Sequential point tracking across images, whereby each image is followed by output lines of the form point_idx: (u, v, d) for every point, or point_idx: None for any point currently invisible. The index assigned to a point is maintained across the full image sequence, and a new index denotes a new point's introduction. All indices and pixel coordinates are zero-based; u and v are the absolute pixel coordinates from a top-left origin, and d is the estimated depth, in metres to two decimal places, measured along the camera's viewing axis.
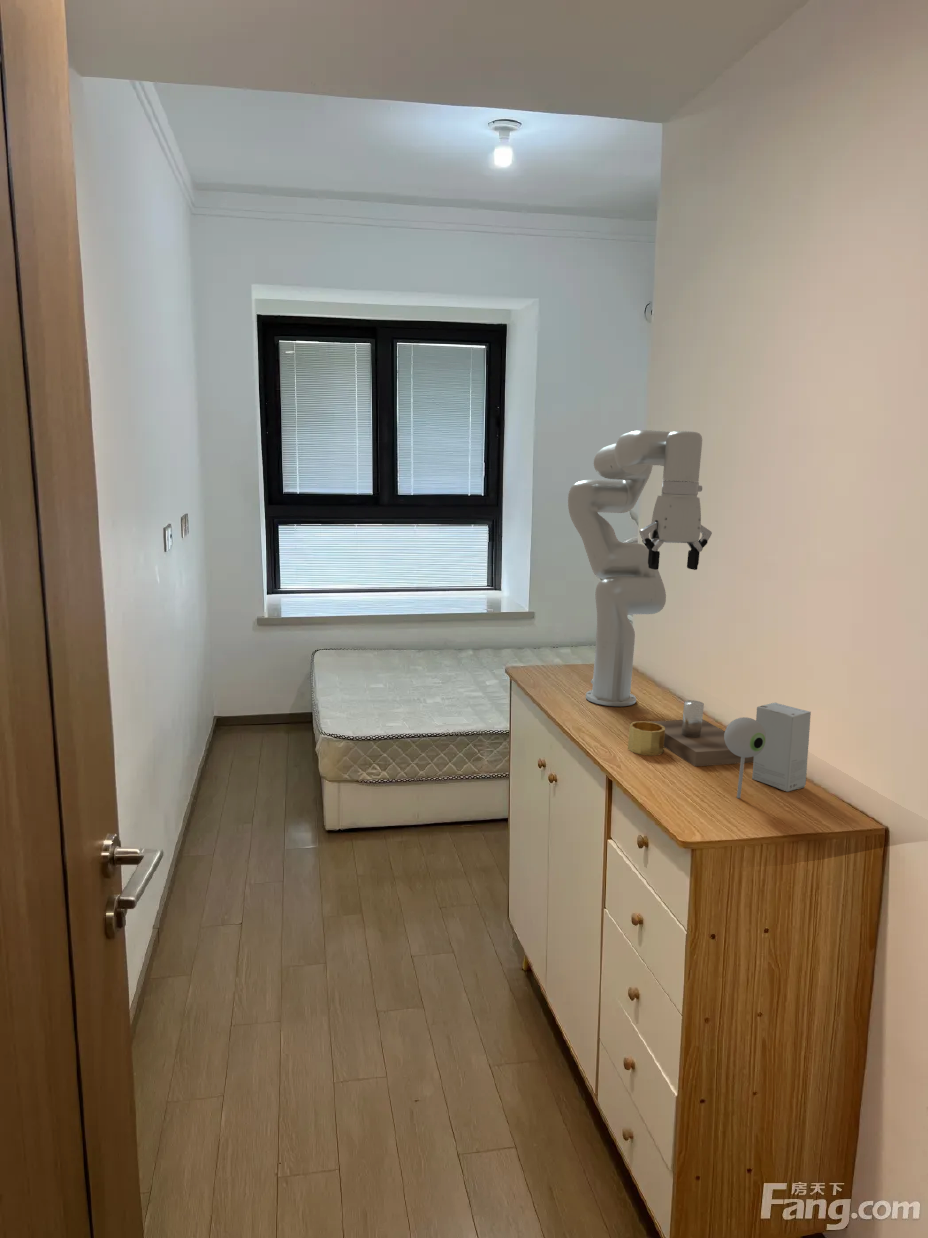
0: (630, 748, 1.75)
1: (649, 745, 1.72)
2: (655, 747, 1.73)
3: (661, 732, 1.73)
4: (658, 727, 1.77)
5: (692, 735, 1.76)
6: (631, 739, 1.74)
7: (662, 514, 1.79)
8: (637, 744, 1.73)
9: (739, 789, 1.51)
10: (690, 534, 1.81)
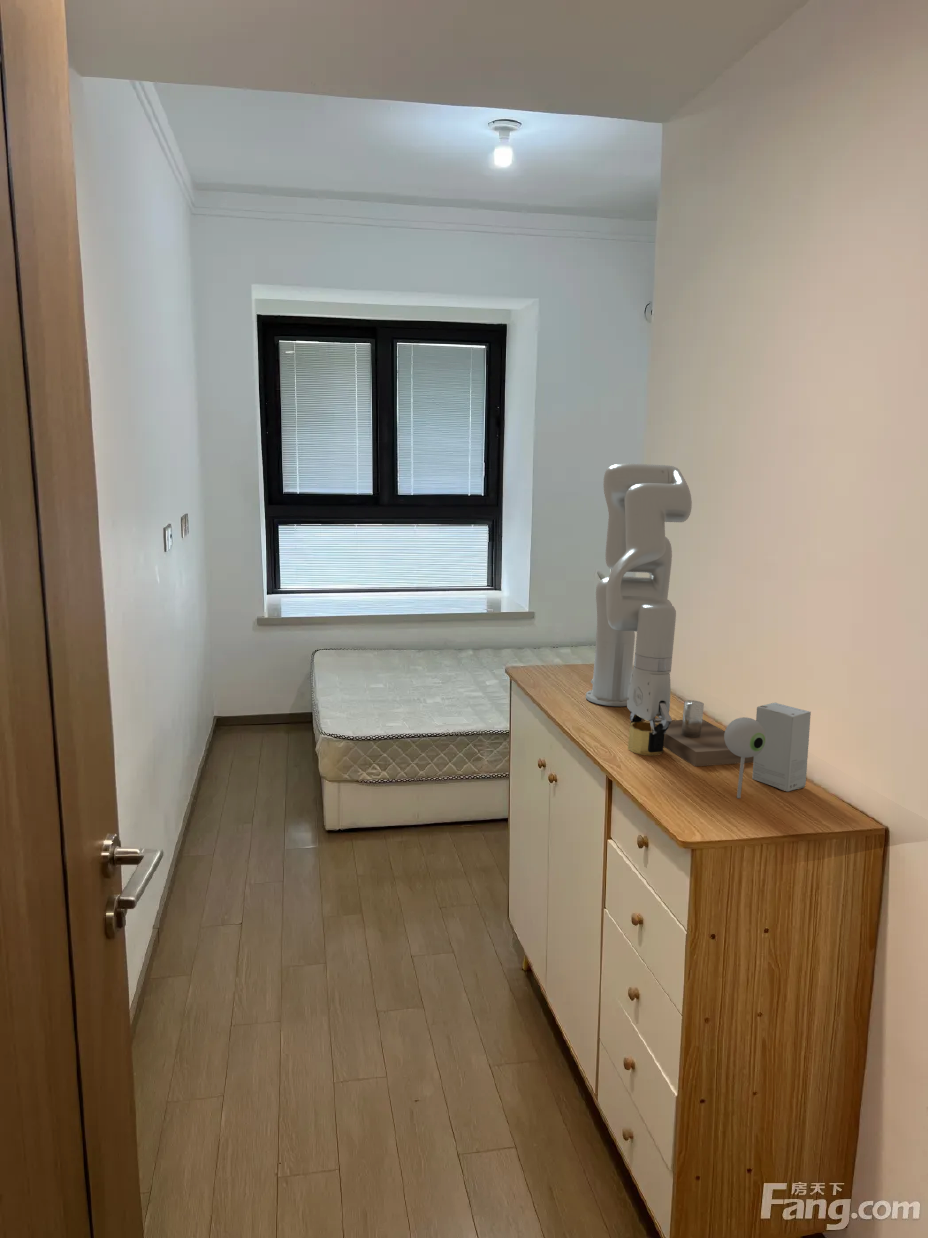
0: (630, 748, 1.75)
1: None
2: None
3: None
4: None
5: (692, 735, 1.76)
6: (631, 739, 1.74)
7: (669, 693, 1.70)
8: (637, 744, 1.73)
9: (739, 789, 1.51)
10: None
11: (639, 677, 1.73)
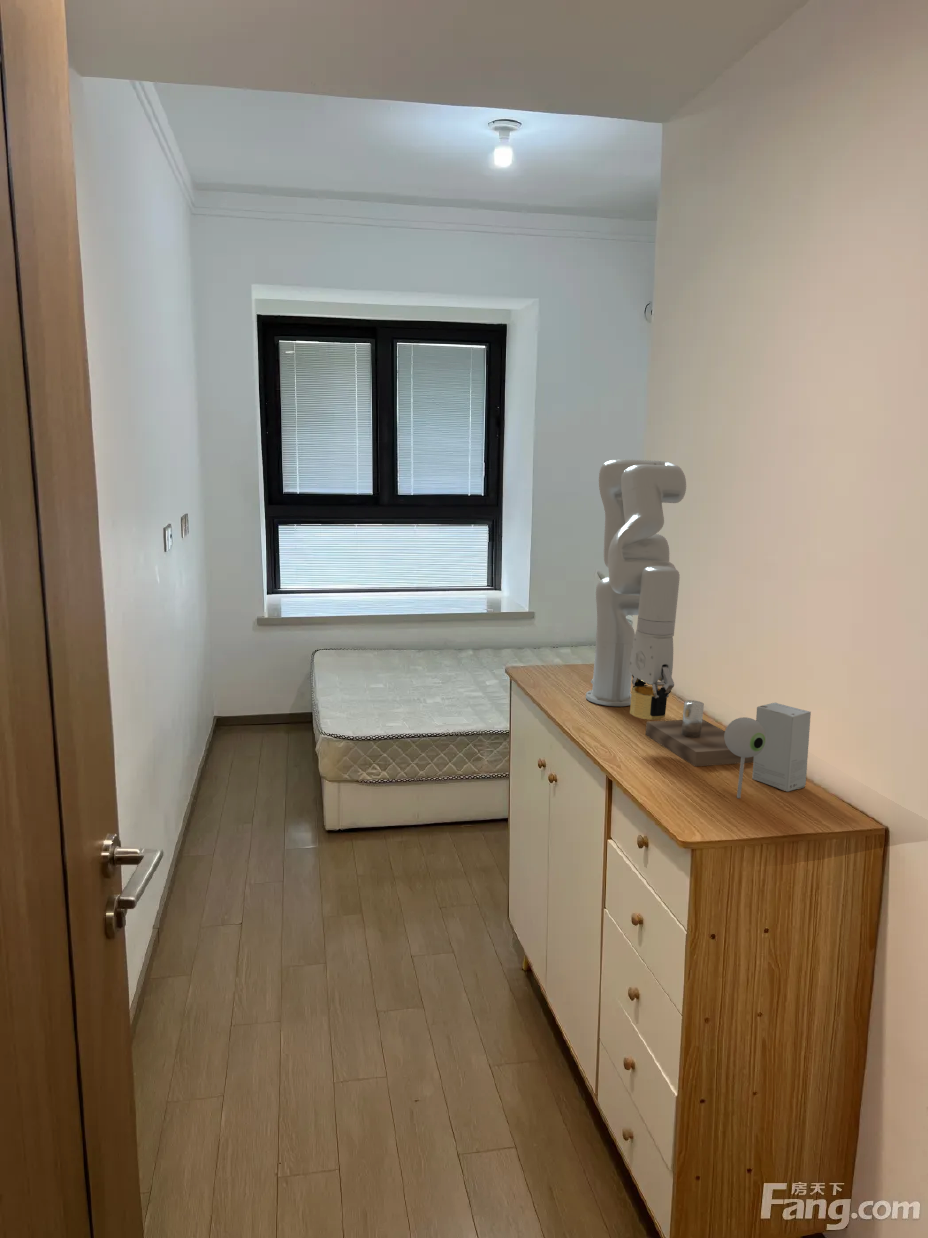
0: (632, 712, 1.74)
1: None
2: None
3: None
4: None
5: (692, 735, 1.76)
6: (633, 703, 1.74)
7: (672, 657, 1.69)
8: (639, 708, 1.73)
9: (739, 789, 1.51)
10: None
11: (642, 641, 1.71)
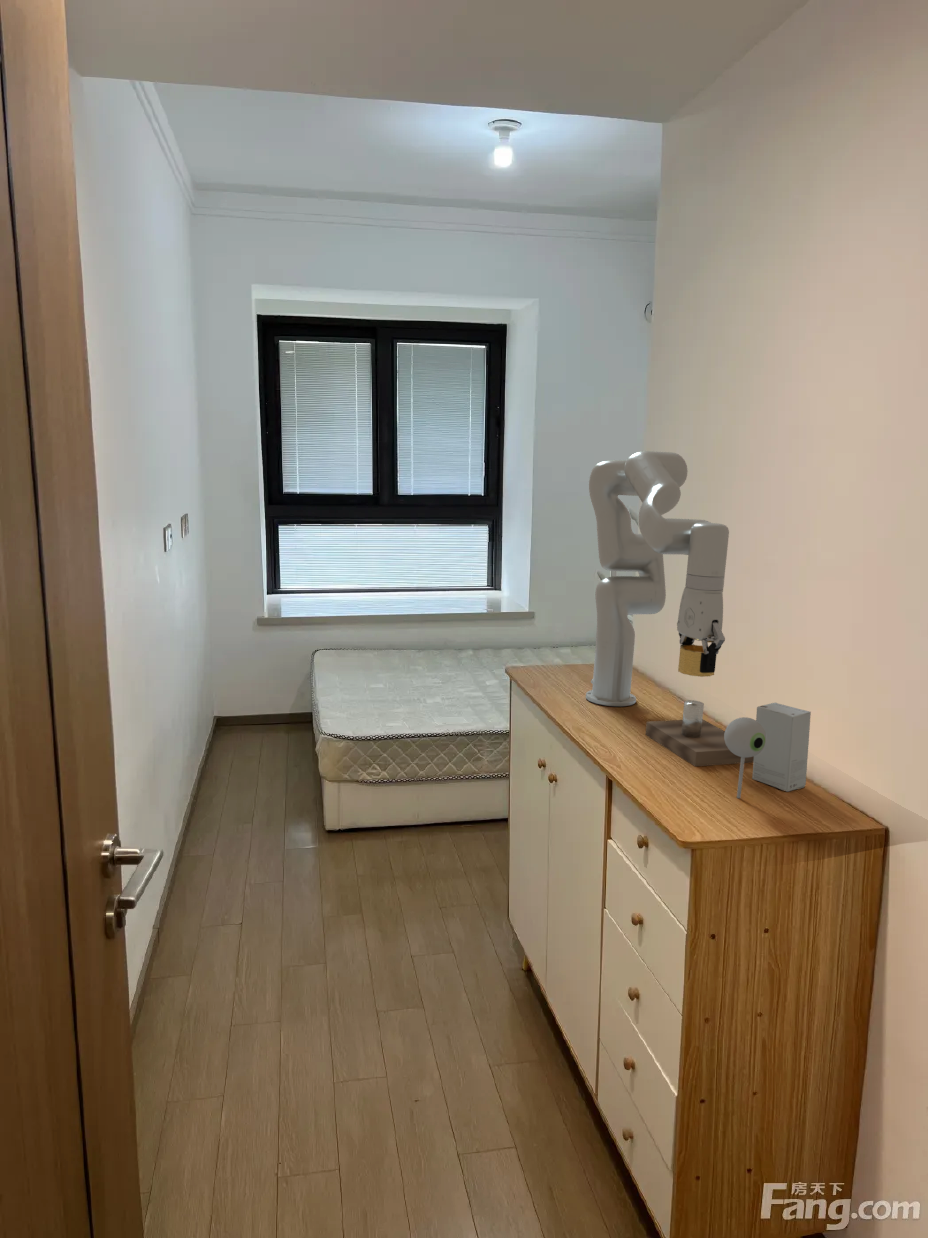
0: (681, 670, 1.74)
1: None
2: None
3: None
4: None
5: (692, 735, 1.76)
6: (682, 661, 1.73)
7: (721, 612, 1.69)
8: (688, 665, 1.72)
9: (739, 789, 1.51)
10: None
11: (691, 598, 1.72)
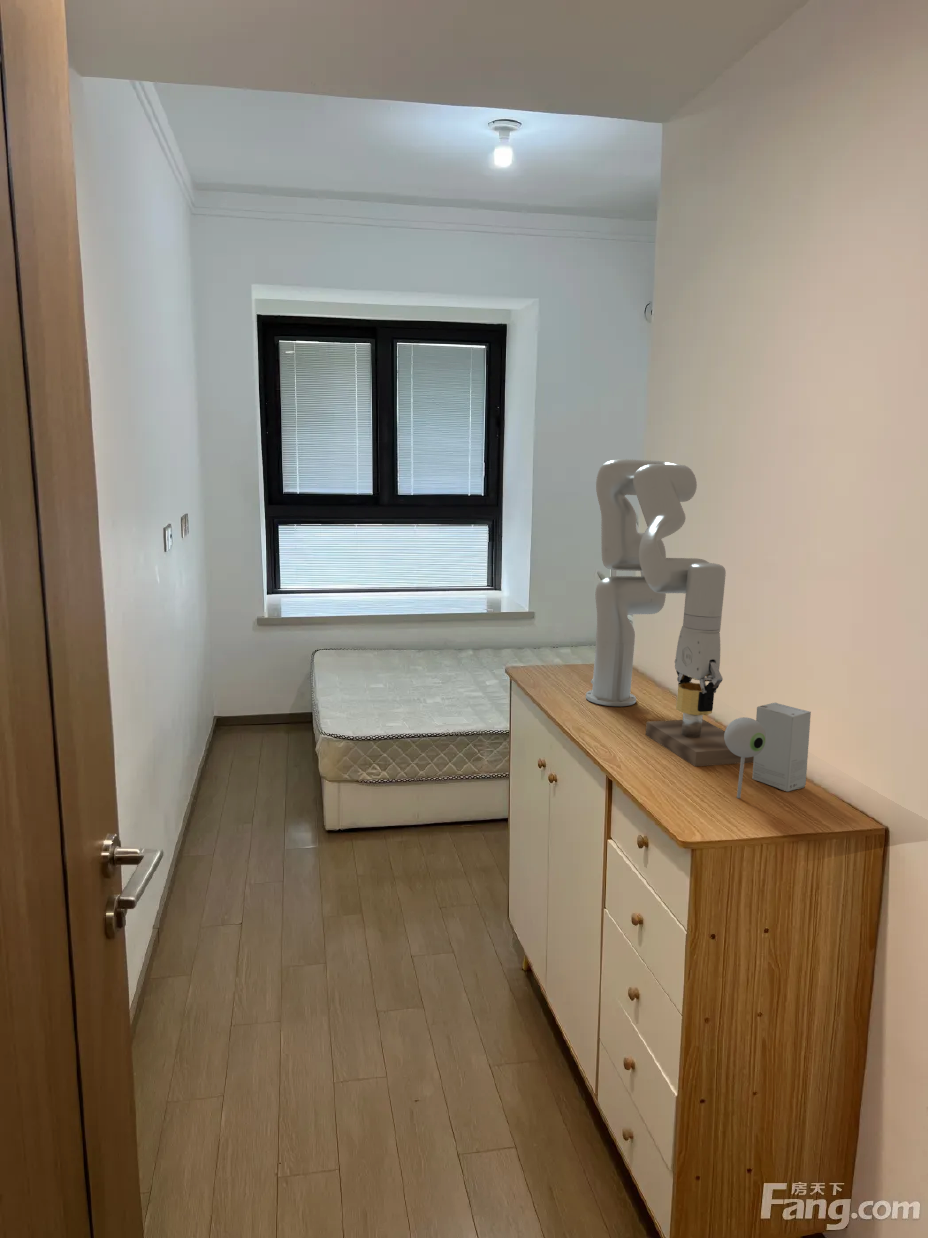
0: (679, 708, 1.75)
1: None
2: None
3: None
4: None
5: (692, 735, 1.76)
6: (680, 699, 1.75)
7: (719, 652, 1.70)
8: (686, 704, 1.73)
9: (739, 789, 1.51)
10: None
11: (688, 637, 1.73)
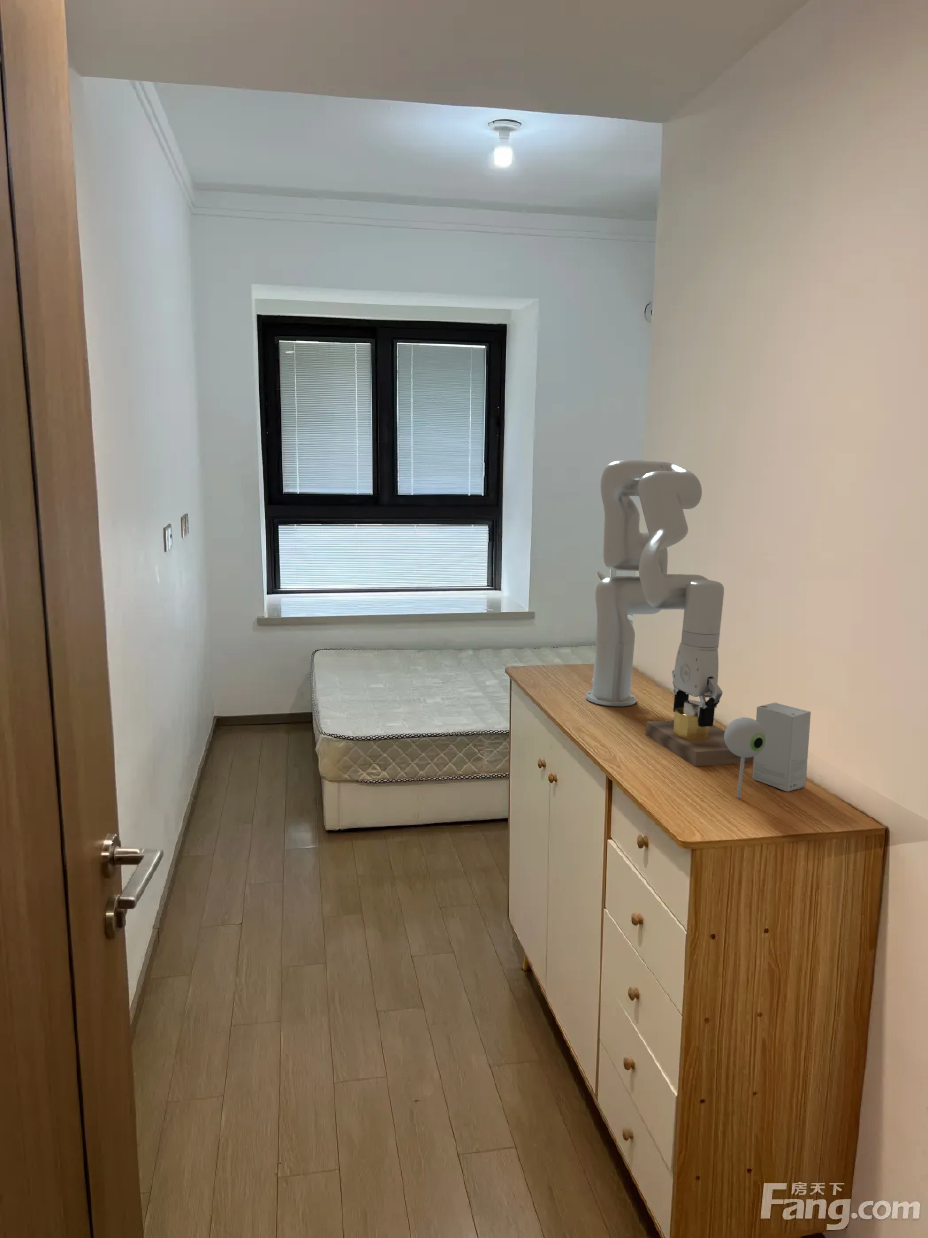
0: (676, 733, 1.76)
1: (695, 730, 1.74)
2: (701, 732, 1.74)
3: None
4: None
5: None
6: (677, 724, 1.76)
7: (717, 669, 1.71)
8: (683, 729, 1.75)
9: (739, 789, 1.51)
10: None
11: (687, 654, 1.74)
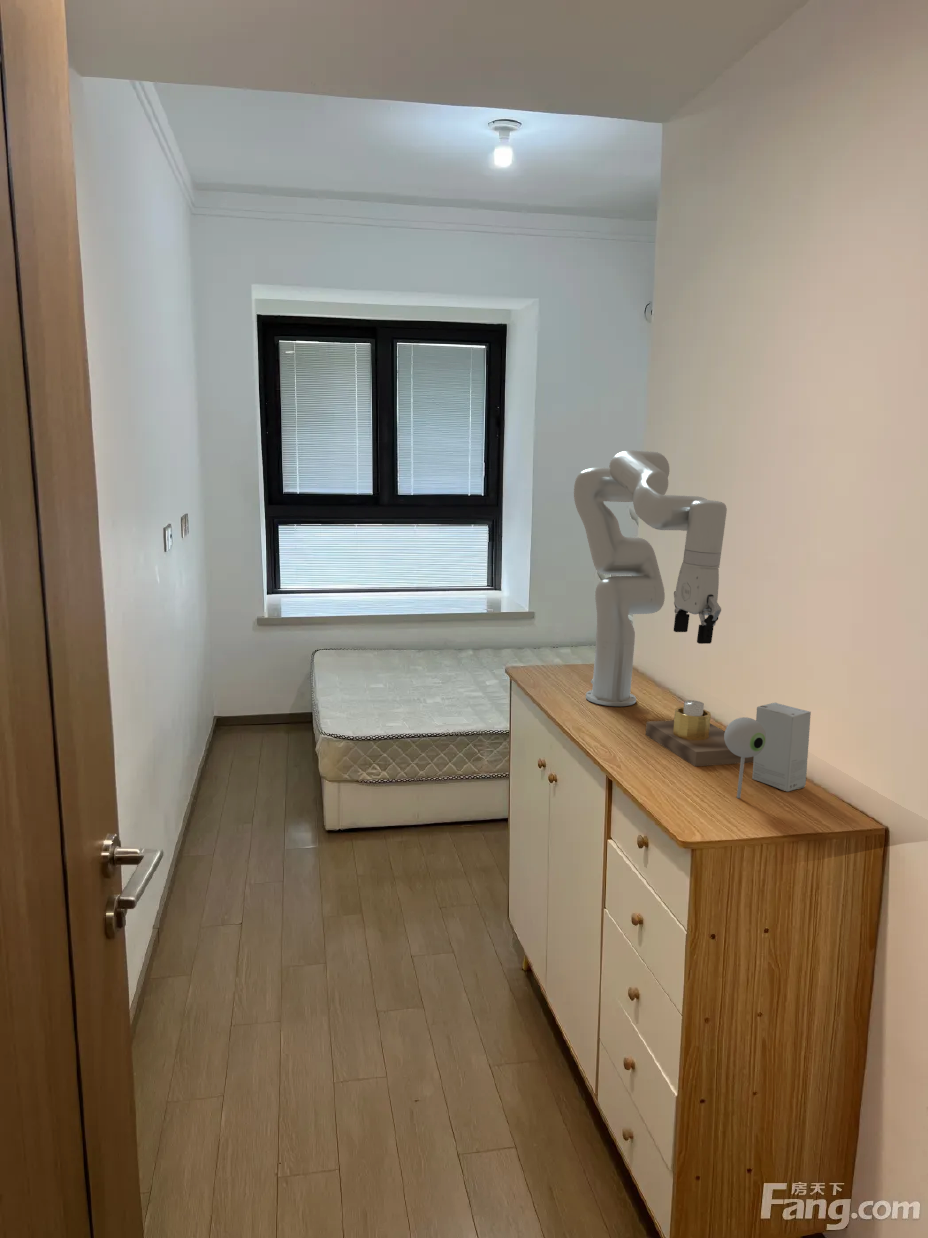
0: (676, 733, 1.76)
1: (695, 730, 1.74)
2: (701, 732, 1.74)
3: (707, 717, 1.74)
4: (703, 713, 1.78)
5: None
6: (677, 724, 1.76)
7: (717, 587, 1.75)
8: (683, 729, 1.75)
9: (739, 789, 1.51)
10: None
11: (688, 573, 1.77)
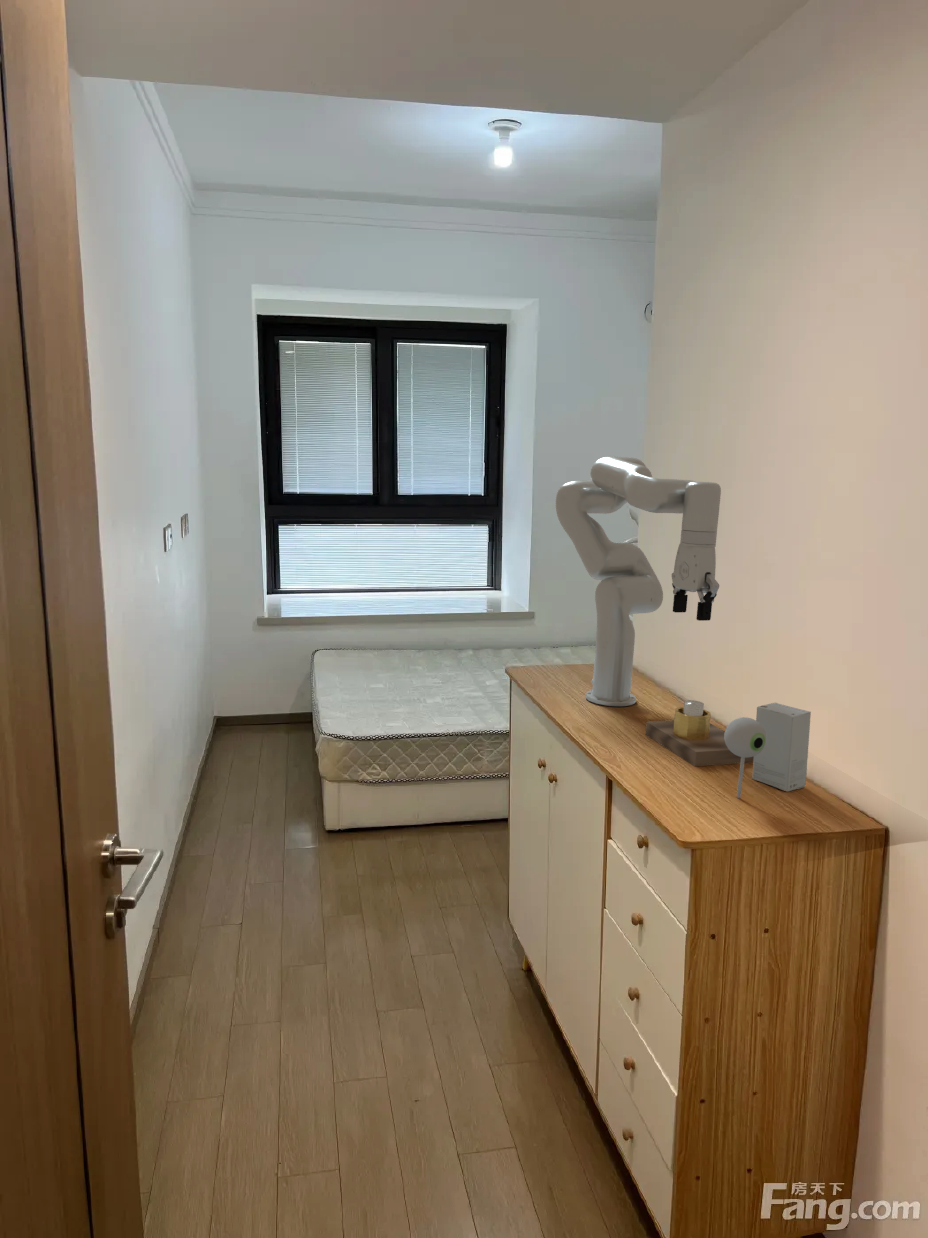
0: (676, 733, 1.76)
1: (695, 730, 1.74)
2: (701, 732, 1.74)
3: (707, 717, 1.74)
4: (703, 713, 1.78)
5: None
6: (677, 724, 1.76)
7: (714, 565, 1.80)
8: (683, 729, 1.75)
9: (739, 789, 1.51)
10: None
11: (685, 552, 1.83)
